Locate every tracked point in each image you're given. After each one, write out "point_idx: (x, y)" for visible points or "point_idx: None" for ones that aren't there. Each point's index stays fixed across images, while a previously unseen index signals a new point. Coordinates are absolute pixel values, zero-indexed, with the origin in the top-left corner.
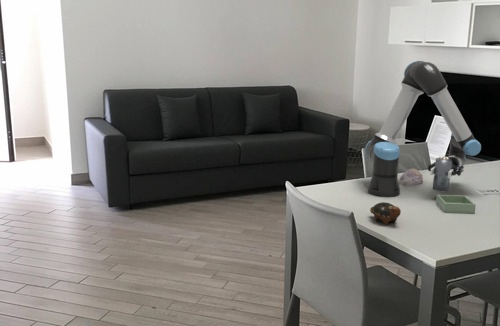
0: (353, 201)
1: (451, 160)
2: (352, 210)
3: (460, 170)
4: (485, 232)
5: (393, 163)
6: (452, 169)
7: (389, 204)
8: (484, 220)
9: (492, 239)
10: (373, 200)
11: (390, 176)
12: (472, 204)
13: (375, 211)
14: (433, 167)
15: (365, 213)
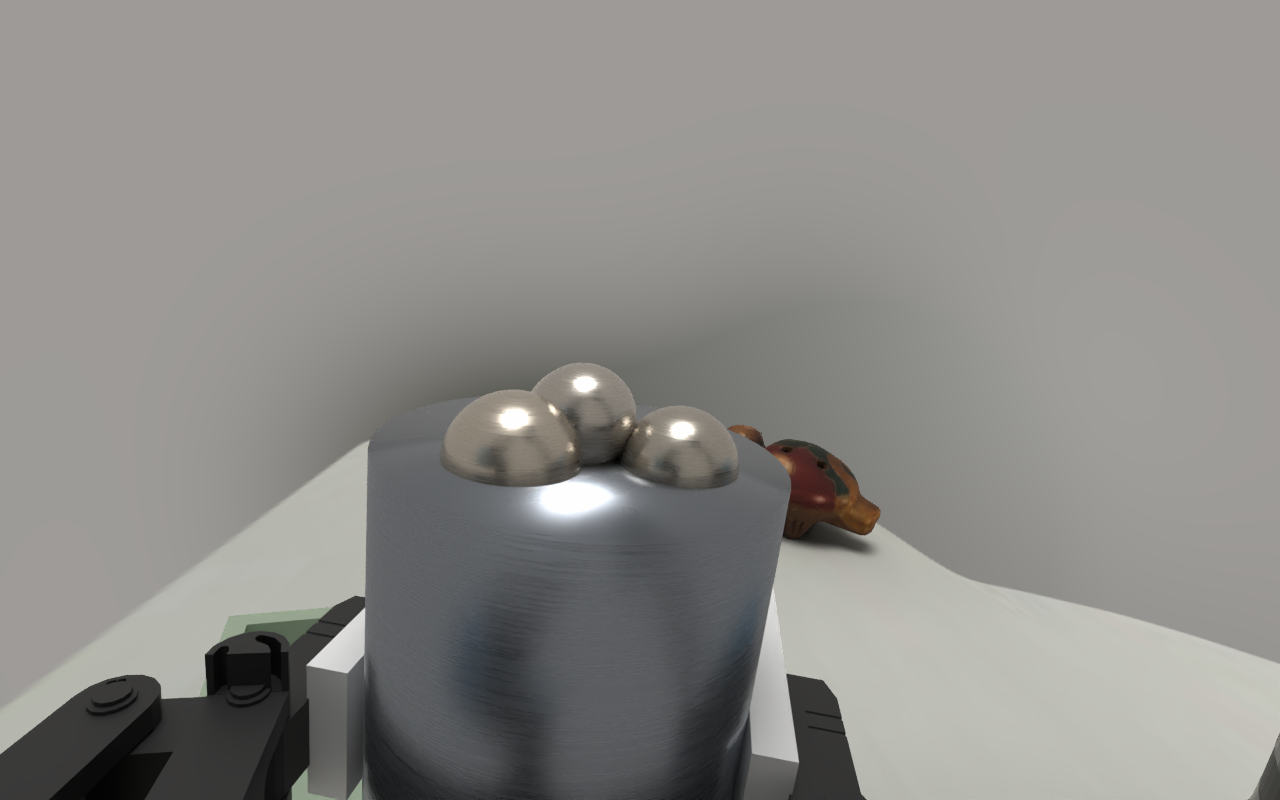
0: (1159, 705)
1: (405, 424)
2: (995, 588)
3: (101, 684)
4: (342, 495)
5: None
6: (337, 653)
7: (783, 440)
8: (239, 595)
9: (347, 463)
10: (1102, 768)
11: (1271, 757)
12: (262, 614)
13: (821, 466)
14: (778, 674)
15: (915, 570)
